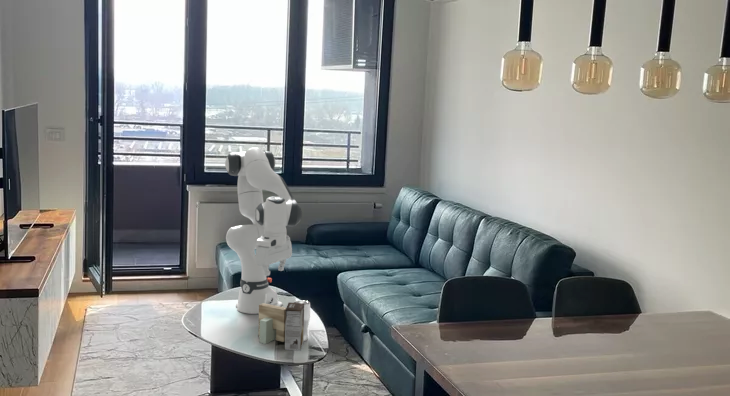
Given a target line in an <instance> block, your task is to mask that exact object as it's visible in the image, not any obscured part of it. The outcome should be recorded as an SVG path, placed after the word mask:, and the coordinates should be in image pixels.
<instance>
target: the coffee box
mask: <svg viewBox="0 0 730 396" xmlns="http://www.w3.org/2000/svg"><path fill="white" fill-rule="evenodd" d="M285 308H286V321H285V341H284V350H285V351H286V350H288V351H301V350H302V347H303V345H304V342H303V337H304V303H294V302H288V303H287V305H286V307H285Z"/></svg>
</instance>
